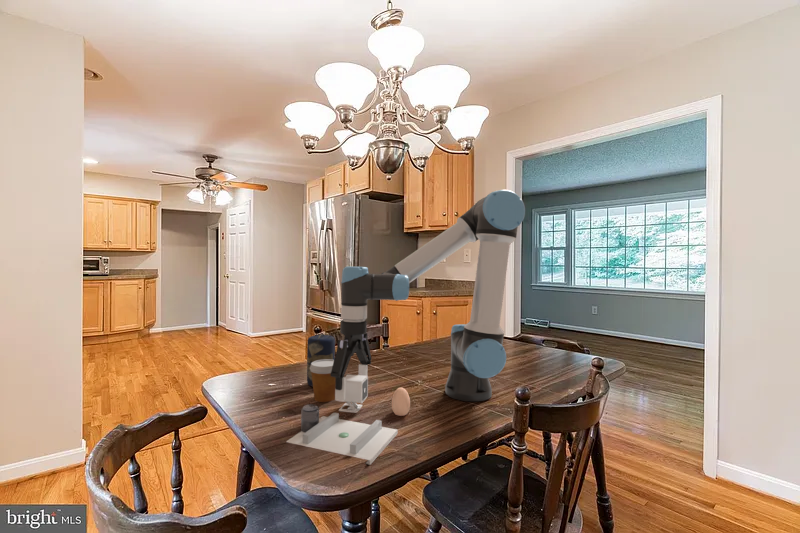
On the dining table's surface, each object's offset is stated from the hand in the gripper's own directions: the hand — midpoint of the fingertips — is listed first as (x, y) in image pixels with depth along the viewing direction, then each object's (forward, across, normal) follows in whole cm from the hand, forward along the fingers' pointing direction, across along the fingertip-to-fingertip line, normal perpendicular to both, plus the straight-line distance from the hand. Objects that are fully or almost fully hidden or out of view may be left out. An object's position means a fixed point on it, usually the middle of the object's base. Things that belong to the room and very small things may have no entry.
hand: (351, 393), depth 110 cm
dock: (+6, +16, +6) cm, 18 cm away
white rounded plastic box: (+6, 0, 0) cm, 6 cm away
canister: (+6, -17, -22) cm, 28 cm away
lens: (+5, +16, -3) cm, 17 cm away
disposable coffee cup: (+6, -4, -12) cm, 14 cm away
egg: (+5, -2, +14) cm, 16 cm away
